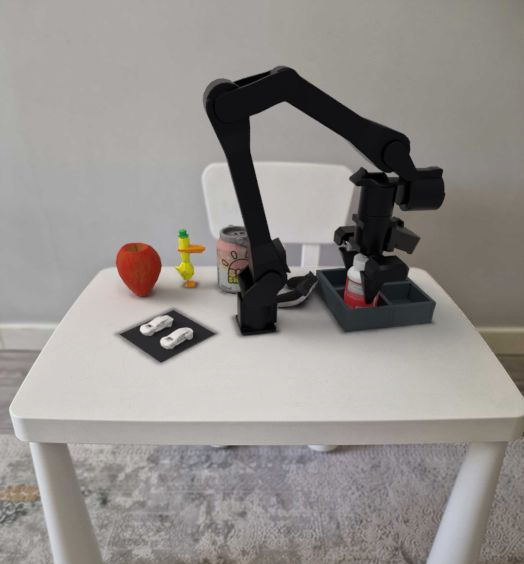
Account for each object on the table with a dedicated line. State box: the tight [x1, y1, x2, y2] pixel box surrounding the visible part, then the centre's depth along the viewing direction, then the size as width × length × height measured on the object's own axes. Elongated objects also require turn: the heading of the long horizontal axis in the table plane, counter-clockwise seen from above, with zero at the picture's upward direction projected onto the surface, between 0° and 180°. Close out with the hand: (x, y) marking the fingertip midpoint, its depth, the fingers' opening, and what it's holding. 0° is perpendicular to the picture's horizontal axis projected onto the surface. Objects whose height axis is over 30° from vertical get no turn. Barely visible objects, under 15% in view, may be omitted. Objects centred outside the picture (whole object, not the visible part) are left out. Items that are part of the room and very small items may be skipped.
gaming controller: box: [275, 270, 318, 308], centre depth 91 cm, size 11×4×7 cm
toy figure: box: [173, 228, 206, 288], centre depth 93 cm, size 7×4×12 cm, turn 89°
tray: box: [314, 267, 437, 333], centre depth 90 cm, size 17×17×4 cm
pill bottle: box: [344, 254, 380, 309], centre depth 83 cm, size 6×6×11 cm
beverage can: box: [215, 224, 248, 294], centre depth 93 cm, size 9×8×12 cm
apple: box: [115, 242, 163, 297], centre depth 90 cm, size 9×8×11 cm
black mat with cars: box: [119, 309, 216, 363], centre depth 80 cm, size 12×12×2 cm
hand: (361, 295), depth 84 cm, fingers closed on pill bottle, 6 cm apart
